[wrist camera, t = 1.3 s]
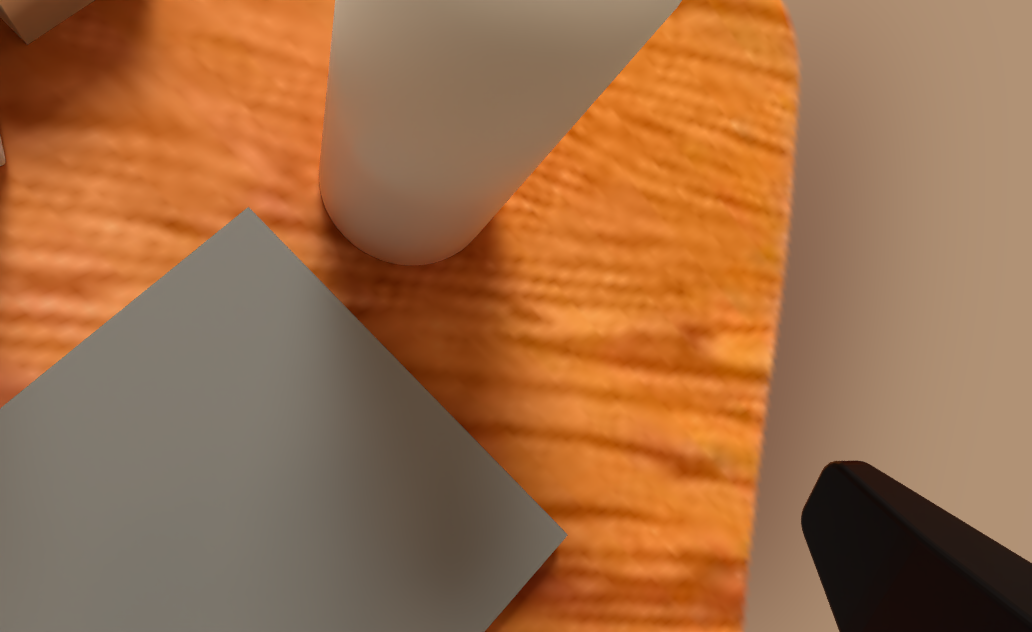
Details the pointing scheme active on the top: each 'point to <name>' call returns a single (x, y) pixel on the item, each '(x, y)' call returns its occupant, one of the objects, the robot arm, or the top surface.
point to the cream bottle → (458, 108)
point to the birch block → (37, 15)
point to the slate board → (250, 471)
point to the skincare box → (2, 154)
